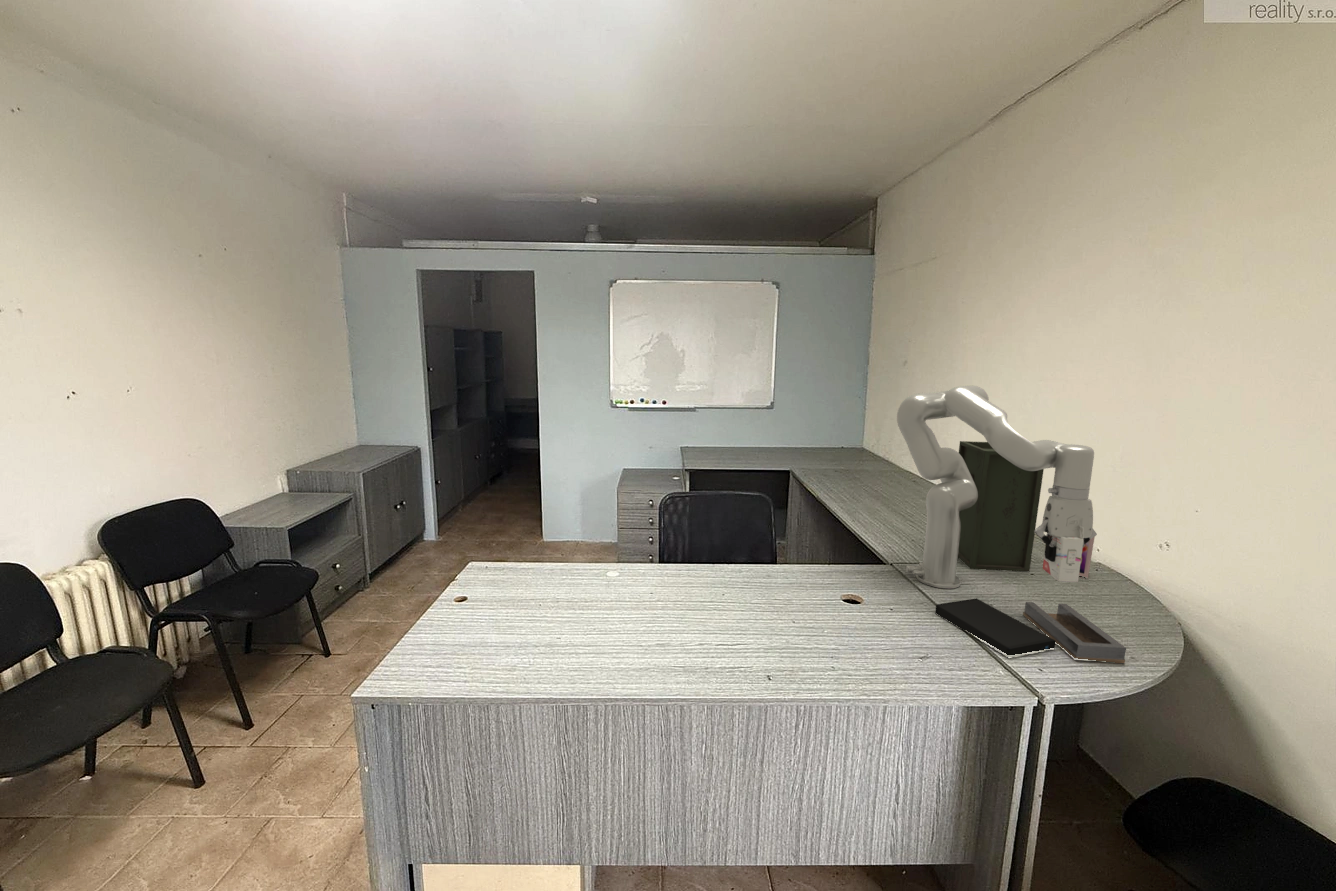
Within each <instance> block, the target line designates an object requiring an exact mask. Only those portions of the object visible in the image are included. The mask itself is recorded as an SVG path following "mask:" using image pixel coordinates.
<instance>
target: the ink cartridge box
mask: <svg viewBox="0 0 1336 891" xmlns="http://www.w3.org/2000/svg"><path fill="white" fill-rule="evenodd" d="M1083 533H1084V529H1083V527H1082V526H1080V538H1079V537H1060V538H1058V537H1057V542H1056V544H1055V546H1054V547H1056V558H1055V561H1054V562H1051V561H1050V560H1048V559H1046V558H1045V552H1044V554H1043V562H1042V563H1043V564H1042V570H1044V571H1045V572H1046V573H1047V574H1049V575H1050V576H1051V577H1052V578H1053V579H1054V580H1056V581H1058V582H1067V583H1078V582H1079V578H1080V577H1079V570H1080V563H1081V555H1082V548H1083ZM1044 546H1046V544H1045V545H1044Z"/></svg>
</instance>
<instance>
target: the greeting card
mask: <svg viewBox="0 0 1336 891" xmlns="http://www.w3.org/2000/svg"><path fill="white" fill-rule="evenodd" d="M1095 537H1096V536H1095ZM1095 537H1093V538H1092V539H1090V541H1088V542H1087V543H1086V544H1085V546H1084V547H1083V548H1082V555H1081V563H1080V570H1079V575H1080V576H1084V577H1087V578H1088V579H1089V574H1090V570H1091V569H1090V568H1091V563H1092V562H1091V561H1092V556H1093V549H1094V543H1095Z"/></svg>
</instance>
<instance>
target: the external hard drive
mask: <svg viewBox="0 0 1336 891" xmlns="http://www.w3.org/2000/svg"><path fill="white" fill-rule="evenodd" d="M936 613H937V614H938V615H937V614H936ZM934 614H936V615H937V616H939V615H940V616H941V618H942V617H943V618H942V619H944V618H945V619H947V620H948V621H950V622H952V623H953V624H955V625H957V626H958V627H960V628H962V629H964V630H967V631H968V632H970V633H972V634H973V635H975V636H977V637H978V638H980V639H982V640H984V641H986V642H987V643H989V644H990V645H992V646H994V647H996V648H997V649H999V650H1001V651H1002V652H1004V653H1006V654H1007V655H1015V654H1022V653H1027V652H1032V651H1039V650H1044V649H1050V648H1054V649H1055V648H1056V644H1055V642H1056V641H1055V640H1053V639H1052V638H1050V637H1048V636H1046V635H1045V634H1043V633H1042V632H1041V631H1039V630H1037V629H1034V627H1031V626H1029V625H1028V624H1025V623H1023V622H1022V621H1019V620H1018V619H1016V618H1014V617H1012V616H1010V615H1008V614H1006V613H1005V612H1004V611H1003V612H1002V611H1001V610H1000V609H998V608H996V607H994V606H991V605H989V604H988V603H986V602H984V601H983V600H980V599H979V598H977V597H976V598H970V599H964V600H963V599H962V600H956V601H949V602H944V603H938V604H935V612H934ZM940 616H939V617H940ZM945 619H944V620H945ZM947 620H946V621H947ZM948 621H947V622H948ZM950 622H949V623H950ZM952 623H951V624H952ZM953 624H952V625H953ZM955 625H954V626H955ZM958 627H957V628H958ZM960 628H959V629H960Z"/></svg>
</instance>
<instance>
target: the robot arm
mask: <svg viewBox="0 0 1336 891" xmlns="http://www.w3.org/2000/svg"><path fill="white" fill-rule="evenodd" d="M952 417H956V418H957V419H959V420H960V421H962V422H963V423H965V424H966V425H968V426H969V427H971V428H972V429H974V430H975V431H976V432H978V433H979V434H981V435H982V436H983V437H984V439H985V441H986V442H988V443H989V444H990V445H991V447H992V448H993V449H994V450H995V451H996V452H997V453H998V454H1000V455H1001V456H1002V457H1004V458H1005V459H1007V460H1008V461H1009V462H1011V463H1012V464H1014V465H1015V466H1017V467H1019V468H1021V469H1023V470H1026V471H1038V470H1041V469H1044V470H1045V469H1051V468H1054V474H1053V475H1054V476H1053V484H1052V487H1049V488H1048V489H1047V492H1048V494H1051V495H1050V496H1049V497H1048V500H1047V502H1046V505H1045V508H1044V512H1043V517H1042V522H1041V524H1040V525H1038V527H1037V528H1035V531H1034V533H1035V535H1036V536H1037V537H1038V538H1039V539H1040V540H1041V541H1042V542H1043V544H1045V545H1046V546H1045V545H1044V546H1045V547H1044V553H1045V558H1046V559H1048V560H1050V561H1051V562H1054V561H1055V558H1056V547H1054V546H1055V544H1056V542H1057V537H1058V538H1060V537H1079V538H1080V526H1082V527H1083V529H1084V533H1083V547H1084V546H1085V544H1086V543H1087V542H1088V541H1090V539H1092V538H1093V537H1096V536H1097V532H1096V530H1094V528H1093V527H1094V526H1093V525H1094V511H1093V510H1094V509H1093V502H1092V499H1090V498H1089V496H1090V495H1089V494H1090V489H1091V488H1090V487H1091V482H1092V476H1093V475H1092V474H1093V466H1094V459H1095V450H1094V449H1093V448H1092V447H1090V446H1087V445H1083V444H1082V445H1081V444H1073V443H1071V444H1069V443H1062V442H1058V441H1054V440H1052V439H1051V440H1050V439H1041V440H1040V439H1039V440H1036V441H1035V440H1034V441H1031V440H1030V439H1028V438H1027V437H1025V436H1024V435H1022V434H1020V433H1019V432H1018V431H1016V430H1015V429H1014V427H1013V428H1012V426H1011V425H1010V423H1009V421H1008V413H1007V412H1006V411H1005V410H1004V409H1002V408H1001V407H999V406H998V405H996V404H994V403H993V402H992V401H990V400H989V395H988V393H987V392H986V390H985V389H984V388H982V387H980V386H979V385H959V386H955V387H952V388H951V389H949V390H944V391H942V390H941V391H937V392H922V393H921V392H920V393H914V394H912V395H909V396H907V397H906V398H905V399H903V400H902V402H901V403H900V405H899V406H898V409H897V414H896V422H897V427H898V429H899V430H900V434H901V435H902V436H903V439H904V441H905V442H906V445H907V447H908V448H907V449H908V450H909V452H910V455H911V457H912V459H913V462H914V464H915V467H916V469H917V471H918V473H919V474H920V476H921V477H922V478H923V479H925V480H927V481H935V480H936V481H937V480H940V482H941V483H937V484H935V485H933V486H932V487H931V488H930V489H929V490H928V492H927V494H926V495H925V496H926V498H925V505H926V506H925V507H926V527H925V538H924V546H923V547H924V548H923V556H922V562H918V563H919V564H918V565H917V564H916V566H915V565H906V566H905V570H906V571H905V572H906V573H912V575H915V578H916V579H917V580H918V581H919V582H921V583H923V584H924V585H927V586H930V587H934V588H938V589H947V590H948V589H950V590H951V589H956V588H959V587H960V586H961V582H962V581H961V578H959V576H957V566H958V559H959V558H958V550H959V542H960V532H961V522H960V517H959V511H961V510H964V509H967V508H970V507H972V506H973V505H974V504H975V503H976V501H977V499H978V491H977V488H976V485H975V483H974V481H973V479H972V476H971V474H970V472H969V470H968V468H967V466H966V463H965V461H964V459H963V458H962V456H961V455H960V454H959V451H957V450H956V449H954V448H951V447H945V446H944V447H941V445H940V444H939V442H938V440H937V437H936V435H935V433H934V432H933V430H932V429H931V428H930V427H929V426H928V424H927V422H926V421H928V420H930V421H931V420H938V419H945V418H952ZM1045 533H1046V534H1045Z"/></svg>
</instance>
